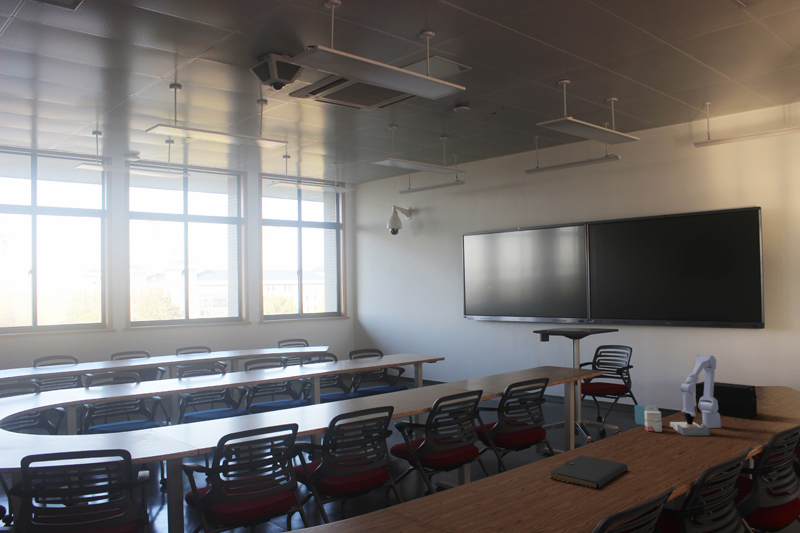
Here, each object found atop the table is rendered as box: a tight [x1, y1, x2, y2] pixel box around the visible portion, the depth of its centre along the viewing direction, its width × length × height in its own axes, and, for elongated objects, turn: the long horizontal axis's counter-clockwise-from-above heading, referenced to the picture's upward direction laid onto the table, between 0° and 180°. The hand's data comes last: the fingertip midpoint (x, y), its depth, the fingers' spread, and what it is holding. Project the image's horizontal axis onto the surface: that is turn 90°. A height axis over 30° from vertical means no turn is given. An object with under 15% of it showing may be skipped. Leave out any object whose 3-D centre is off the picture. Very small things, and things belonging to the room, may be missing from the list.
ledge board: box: [669, 421, 703, 432], centre depth 345 cm, size 14×14×2 cm
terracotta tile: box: [686, 424, 698, 428], centre depth 335 cm, size 5×5×2 cm
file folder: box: [549, 455, 629, 490], centre depth 266 cm, size 33×4×24 cm
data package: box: [633, 404, 654, 426], centre depth 359 cm, size 12×4×12 cm, turn 39°
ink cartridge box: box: [644, 405, 663, 433], centre depth 343 cm, size 9×5×15 cm, turn 84°
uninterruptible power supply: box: [695, 381, 758, 420], centre depth 379 cm, size 16×34×20 cm, turn 36°
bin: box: [677, 423, 711, 437], centre depth 333 cm, size 15×9×4 cm, turn 82°
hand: (690, 426), depth 338 cm, fingers closed
